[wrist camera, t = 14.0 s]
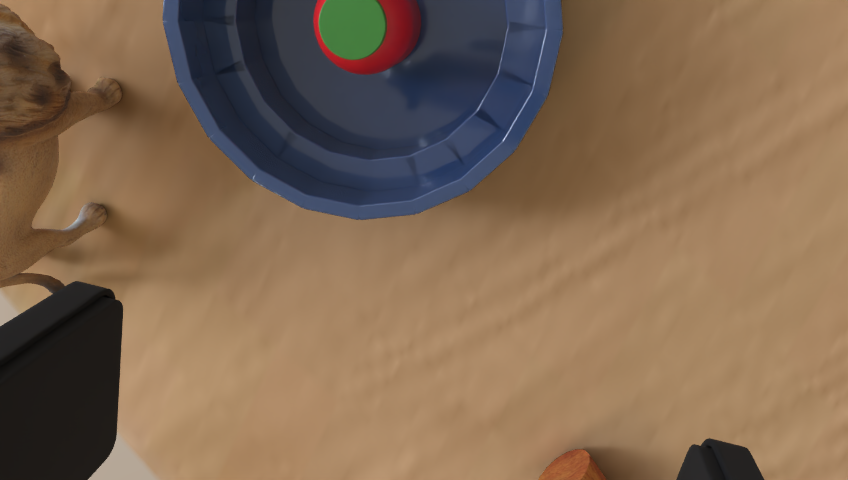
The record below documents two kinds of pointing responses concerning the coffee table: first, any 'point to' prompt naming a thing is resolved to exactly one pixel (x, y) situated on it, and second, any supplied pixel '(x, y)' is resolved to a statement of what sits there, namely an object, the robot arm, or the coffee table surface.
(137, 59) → the coffee table surface
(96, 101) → the tan animal figure
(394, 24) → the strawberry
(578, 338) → the coffee table surface
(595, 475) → the maraca
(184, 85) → the bowl
